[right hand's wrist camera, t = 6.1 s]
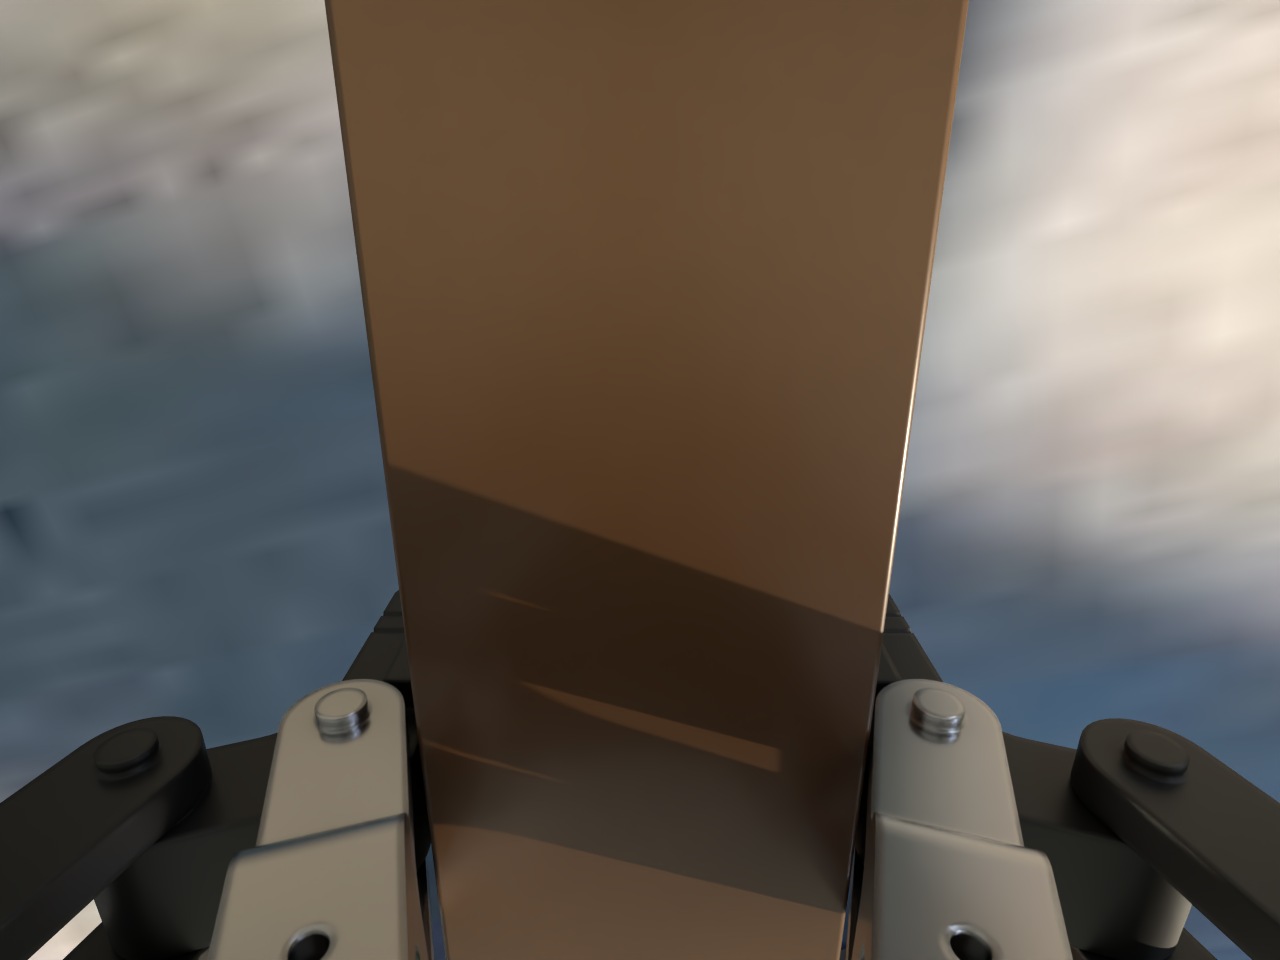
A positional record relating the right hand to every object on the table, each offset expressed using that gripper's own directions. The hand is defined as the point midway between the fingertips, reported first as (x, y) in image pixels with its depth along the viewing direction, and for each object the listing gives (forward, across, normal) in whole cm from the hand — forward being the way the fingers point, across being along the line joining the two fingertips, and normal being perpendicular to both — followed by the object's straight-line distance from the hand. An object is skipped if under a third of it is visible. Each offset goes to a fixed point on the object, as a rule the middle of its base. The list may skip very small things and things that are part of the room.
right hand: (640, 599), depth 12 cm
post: (+3, 0, -36) cm, 37 cm away
